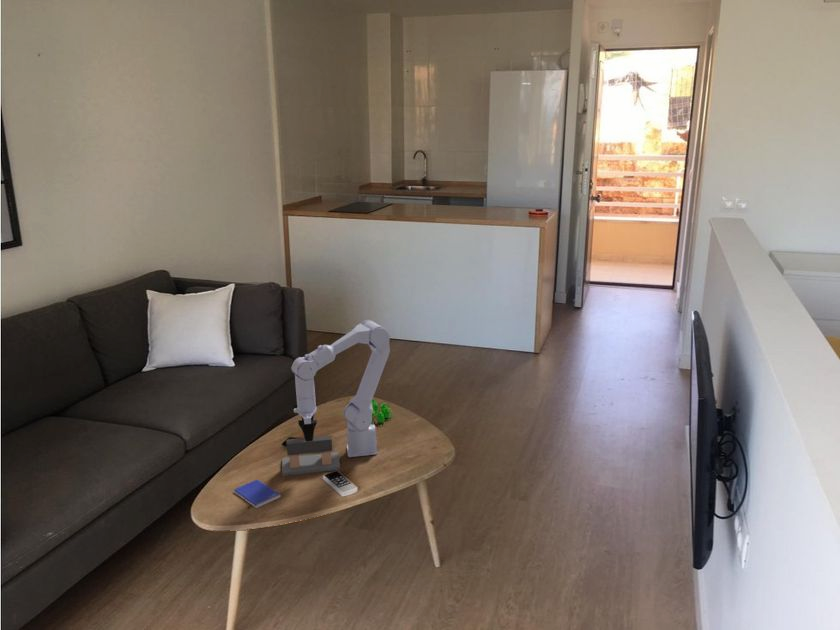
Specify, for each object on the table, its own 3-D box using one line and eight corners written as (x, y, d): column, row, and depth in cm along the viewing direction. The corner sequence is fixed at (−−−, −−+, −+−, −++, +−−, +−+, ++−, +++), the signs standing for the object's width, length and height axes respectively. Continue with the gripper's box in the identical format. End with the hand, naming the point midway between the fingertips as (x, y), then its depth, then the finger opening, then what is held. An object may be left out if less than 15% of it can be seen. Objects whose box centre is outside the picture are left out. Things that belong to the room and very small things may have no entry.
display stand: (338, 454, 218) (337, 440, 217) (340, 469, 209) (339, 455, 207) (282, 460, 215) (281, 446, 214) (282, 476, 206) (280, 461, 204)
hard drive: (280, 493, 194) (257, 478, 203) (256, 504, 189) (233, 489, 197) (280, 498, 195) (258, 483, 203) (256, 509, 189) (234, 493, 198)
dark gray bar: (331, 446, 213) (331, 435, 212) (332, 450, 210) (331, 439, 209) (287, 451, 211) (286, 439, 210) (287, 455, 208) (286, 444, 207)
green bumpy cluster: (344, 417, 246) (343, 400, 244) (377, 406, 255) (376, 389, 253) (367, 431, 235) (366, 413, 233) (400, 419, 244) (400, 401, 242)
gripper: (292, 387, 212) (296, 426, 216) (292, 406, 198) (296, 447, 202) (315, 385, 213) (317, 424, 217) (316, 403, 199) (319, 444, 203)
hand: (308, 435), depth 209 cm, fingers open, 7 cm apart
